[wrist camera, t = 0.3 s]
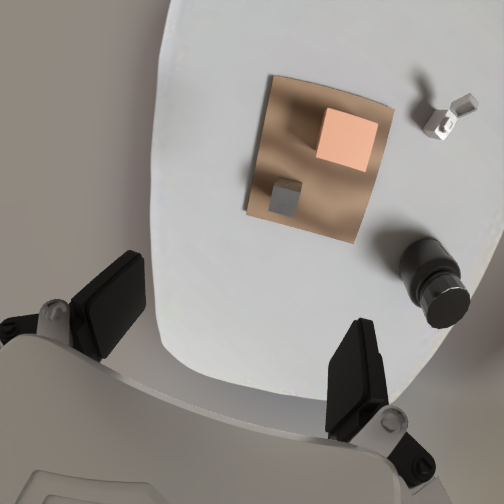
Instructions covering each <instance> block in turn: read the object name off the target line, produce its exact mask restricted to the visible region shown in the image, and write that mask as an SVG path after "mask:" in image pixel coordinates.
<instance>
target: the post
mask: <svg viewBox="0 0 504 504" xmlns="http://www.w3.org/2000/svg"><path fill="white" fill-rule="evenodd" d="M302 183H303V182H299V181H295V180H292V179H288V178H284V177H280V176H279V178H278V179H277V181H276V183H275V184H274V186H273V191H272V195H271V200H270V204H269V209H268V211H270V212H274V213H278V214H281V215H285V216H289V217H293V218H294V217H295V213H296V209H297V205H298V201H299V198H300V194H301V189H302Z"/></svg>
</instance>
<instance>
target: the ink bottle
mask: <svg viewBox="0 0 504 504" xmlns="http://www.w3.org/2000/svg"><path fill="white" fill-rule="evenodd" d="M400 275H401V278H402V280H403V283H404V285H405V287H406V290H407V292H408V295H409V297H410V299H411V301H412V302H413V303H414V304H415V305H416V306H418V307H420V308H422V310H423V312H424V315H425V317H426V320H427V322H428V323H429V324H430V325H431V327H433V328H437V329H442V328H448V327H450V326H452V325H454V324H456V323H457V322H458V321H459V320H460V319H462V318H463V316H464V314H465V313H466V312H467V310H468V307H469V304H470V294H469V293H468V291H467V290H466V288H465V286H464V285H463V283H462V282H461V281H460V279H461V272H460V268H459V266H458V264H457V262H456V261H455V260H454V258H453V257H452V256H451V255H450V253H449V252H448V251H447V250H446V248H445V247H444V246H443V245H442V244H441V243H440V242H438V241H436V240H433V239H423V240H419V241H417V242H415V243H413V244H412V245H410V246H409V247H408V248H407V250H406V251H405V252H404V254H403V256H402V259H401V262H400Z"/></svg>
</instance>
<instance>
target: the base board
mask: <svg viewBox="0 0 504 504" xmlns="http://www.w3.org/2000/svg"><path fill="white" fill-rule="evenodd" d="M327 108H331V109H334V110H338V111H341V112H344V113H348V114H351V115H354V116H357V117H360V118H363V119H366V120H369V121H372V122H375V123H377V124H378V128H377V132H376V136H375V140H374V143H373V147H372V151H371V154H370V158H369V162H368V165H367V168H366V172H363V171H360V170H357V169H354V168H351V167H348V166H344V165H341V164H338V163H334V162H331V161H327V160H324V159H320V158H317V157H316V154H315V150H316V146H317V141H318V137H319V133H320V129H321V125H322V120H323V116H324V112H325V110H326V109H327ZM394 110H395V109H392V108H390V107H387V106H385V105H382V104H379V103H377V102H374V101H371V100H368V99H365V98H362V97H359V96H356V95H353V94H350V93H346V92H343V91H340V90H336V89H333V88H329V87H325V86H321V85H317V84H313V83H309V82H304V81H300V80H295V79H290V78H285V77H280V76H274V77H273V82H272V87H271V92H270V97H269V101H268V106H267V111H266V116H265V121H264V126H263V131H262V136H261V141H260V146H259V151H258V156H257V161H256V166H255V171H254V177H253V182H252V187H251V192H250V197H249V203H248V208H247V213H246V215H249V216H253V217H257V218H261V219H265V220H269V221H272V222H276V223H280V224H284V225H287V226H291V227H295V228H299V229H302V230H306V231H309V232H313V233H317V234H320V235H324V236H327V237H331V238H334V239H338V240H341V241H345V242H348V243H352V244H354V241H355V239H356V236H357V233H358V230H359V228H360V225H361V222H362V219H363V217H364V214H365V211H366V208H367V205H368V202H369V199H370V196H371V193H372V190H373V187H374V183H375V180H376V177H377V174H378V170H379V167H380V164H381V160H382V157H383V153H384V149H385V146H386V142H387V138H388V134H389V130H390V126H391V122H392V118H393V114H394ZM279 176H280V177H284V178H288V179H292V180H295V181H299V182H303V183H302V189H301V194H300V198H299V201H298V205H297V209H296V213H295V217H294V218H293V217H289V216H285V215H281V214H278V213H274V212H270V211H268V209H269V204H270V200H271V195H272V191H273V186H274V184H275V183H276V181H277V179H278V178H279Z"/></svg>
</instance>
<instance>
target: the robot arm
mask: <svg viewBox="0 0 504 504" xmlns="http://www.w3.org/2000/svg"><path fill="white" fill-rule="evenodd" d="M145 306H146V296H145V273H144V258H142V256H141V254H140V253H137V252H134V251H132V250H128V251H127V252H125V253H124V254H123V255H122V256H121V257H119V258H118V259H117V260H116V261H114V262H113V263H112V264H111V265H110V266H108V267H107V268H106V269H105V270H104V271H102V272H101V273H100V274H99V275H98V276H97V277H95V278H94V279H93V280H92V281H91V282H90V283H89V284H87V285H86V286H85V287H84V288H83V289H82V290H81V291H80V292H79V293H77V294H76V295H75V296H74V297H73V298H72V299H71V302H70V303H69V304H68V303H67V302H66V301H64V300H61V299H53V300H50V301H48V302H46V303H45V304H43V306H42V307H41V309H40V312H39V314H32V315H25V316H18V317H11V318H7V319H5V320H4V321H3V322H2V323H1V324H0V504H452V502H451V500H450V498H449V496H448V494H447V492H446V490H445V488H444V486H443V485H442V483H441V481H440V479H439V477H436V478H435V476H434V473H435V469H436V464H435V461H434V458H433V457H432V456H431V455H430V454H429V453H428V452H427V451H426V450H425V449H424V448H423V447H422V446H421V445H420V444H419V443H418V442H417V441H416V440H415V439H414V438H413V437H412V436H411V435H409V434H408V433H407V432H406V431H407V428H408V418H407V416H406V414H405V412H403V410H402V409H400V408H399V407H397V406H394V405H389V402H388V394H387V386H386V379H385V372H384V366H383V360H382V356H381V354H380V353H379V351H378V346H377V340H376V335H375V329H374V324H373V321H372V320H368V319H363V318H359V319H358V320H354V321H353V323H352V324H351V326H350V328H349V330H348V331H347V333H346V335H345V337H344V338H343V340H342V342H341V343H340V345H339V347H338V348H337V350H336V352H335V353H334V355H333V357H332V358H331V360H330V362H329V366H328V390H327V410H326V425H325V431H326V432H329V433H328V439H323V438H317V437H311V436H305V435H301V434H295V433H291V432H286V431H281V430H276V429H272V428H267V427H263V426H259V425H255V424H251V423H248V422H244V421H240V420H237V419H233V418H230V417H227V416H223V415H220V414H217V413H214V412H211V411H208V410H205V409H202V408H199V407H196V406H194V405H191V404H188V403H185V402H183V401H180V400H178V399H175V398H173V397H170V396H168V395H165V394H163V393H161V392H158V391H156V390H153V389H151V388H149V387H147V386H145V385H142V384H140V383H138V382H136V381H134V380H131V379H130V378H128V377H126V376H124V375H122V374H120V373H117V372H116V371H114V370H112V369H110V368H108V367H106V366H104V365H102V364H101V363H100V361H101V360H102V359H105V358H107V356H108V355H109V354H110V353H111V351H112V350H113V349H114V347H115V346H116V345H117V343H118V342H119V341H120V340H121V338H122V337H123V336H124V335H125V333H126V332H127V331H128V330H129V328H130V327H131V326H132V325H133V323H134V322H135V321H136V319H137V318H138V317H139V316H140V314H141V313H142V312H143V311H144V309H145ZM329 439H331V440H329ZM335 440H337V441H335Z"/></svg>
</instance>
